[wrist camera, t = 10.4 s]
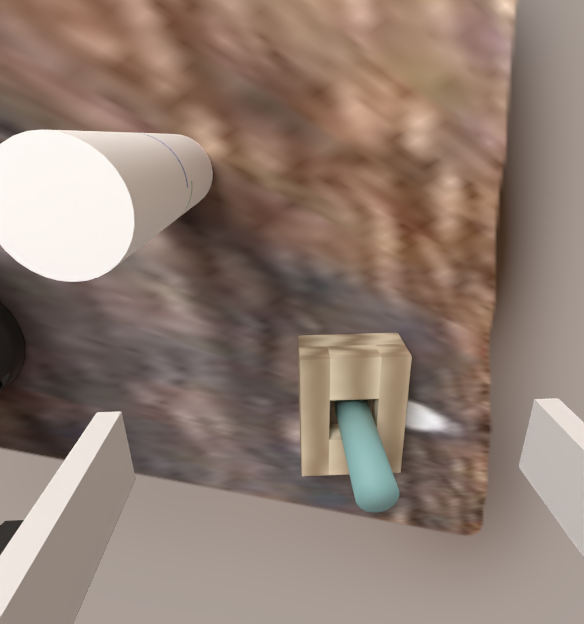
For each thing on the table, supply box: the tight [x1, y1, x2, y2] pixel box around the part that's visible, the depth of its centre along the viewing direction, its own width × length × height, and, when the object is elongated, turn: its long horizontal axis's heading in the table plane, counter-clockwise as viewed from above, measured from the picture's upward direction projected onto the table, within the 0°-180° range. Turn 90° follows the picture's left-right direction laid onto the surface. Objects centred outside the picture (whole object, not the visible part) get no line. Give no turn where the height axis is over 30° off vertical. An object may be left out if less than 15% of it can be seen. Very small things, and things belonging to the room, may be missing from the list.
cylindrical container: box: [0, 130, 213, 282], centre depth 32 cm, size 7×7×25 cm
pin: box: [334, 399, 399, 512], centre depth 44 cm, size 4×4×14 cm
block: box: [298, 333, 412, 476], centre depth 51 cm, size 12×16×6 cm
